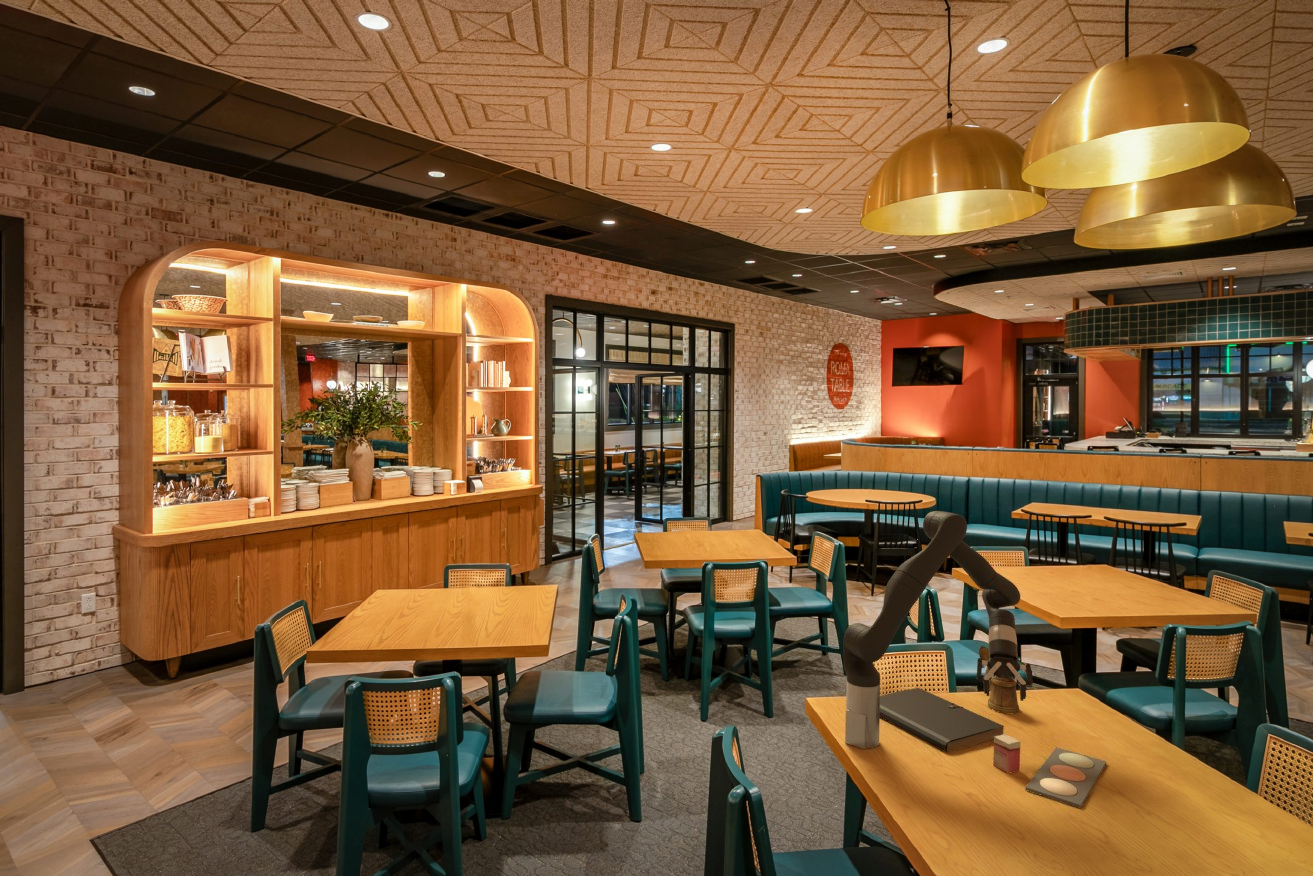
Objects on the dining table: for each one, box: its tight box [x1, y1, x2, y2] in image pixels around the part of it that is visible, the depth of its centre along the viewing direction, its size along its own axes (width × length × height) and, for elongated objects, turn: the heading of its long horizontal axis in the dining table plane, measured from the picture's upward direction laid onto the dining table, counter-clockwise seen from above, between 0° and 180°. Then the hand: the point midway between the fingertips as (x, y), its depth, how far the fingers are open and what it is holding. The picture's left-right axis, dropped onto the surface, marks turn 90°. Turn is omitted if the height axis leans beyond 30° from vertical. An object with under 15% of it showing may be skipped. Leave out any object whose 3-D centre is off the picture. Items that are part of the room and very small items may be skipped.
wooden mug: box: [978, 644, 1020, 714], centre depth 227 cm, size 9×14×18 cm, turn 24°
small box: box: [992, 733, 1021, 774], centre depth 185 cm, size 5×4×8 cm
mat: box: [1025, 746, 1107, 809], centre depth 181 cm, size 30×12×1 cm, turn 137°
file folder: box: [880, 687, 1005, 753], centre depth 214 cm, size 33×4×24 cm
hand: (1004, 697), depth 195 cm, fingers open, 8 cm apart
